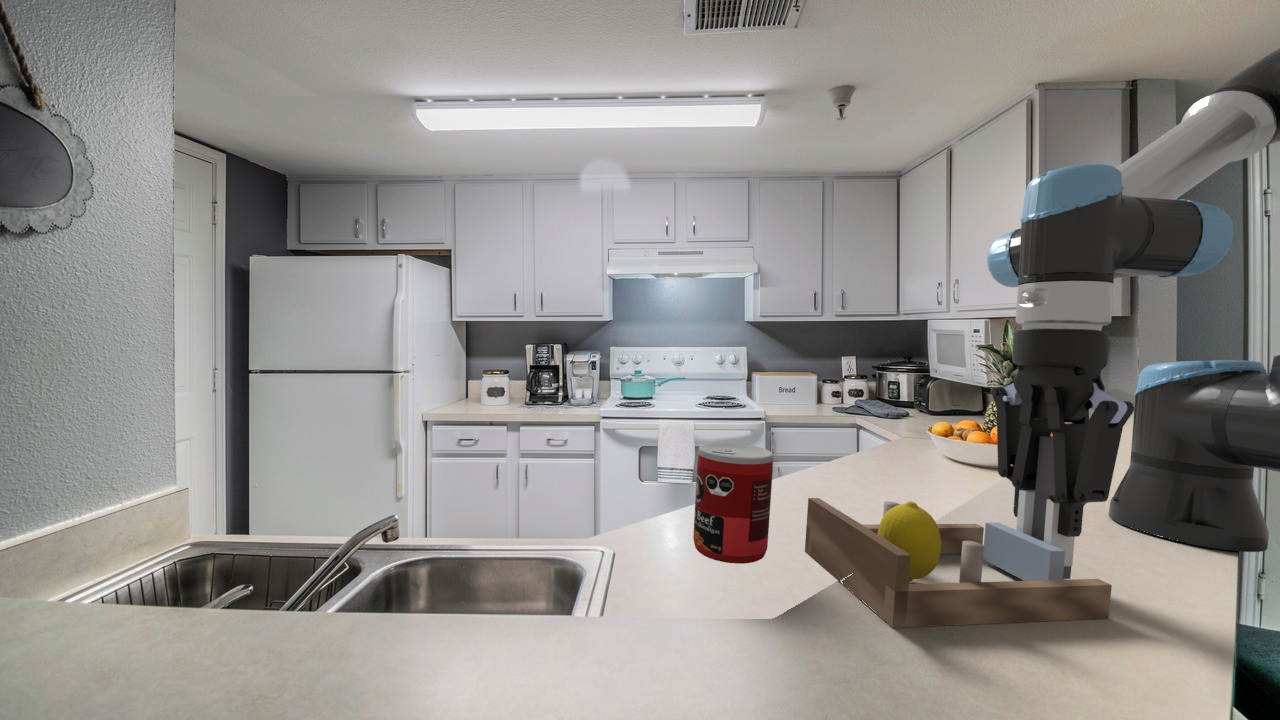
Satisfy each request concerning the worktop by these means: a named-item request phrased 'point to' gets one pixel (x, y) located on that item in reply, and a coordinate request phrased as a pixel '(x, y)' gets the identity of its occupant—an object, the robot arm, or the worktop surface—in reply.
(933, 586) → the lane
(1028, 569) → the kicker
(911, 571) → the lemon
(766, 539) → the canned food
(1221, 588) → the worktop surface
